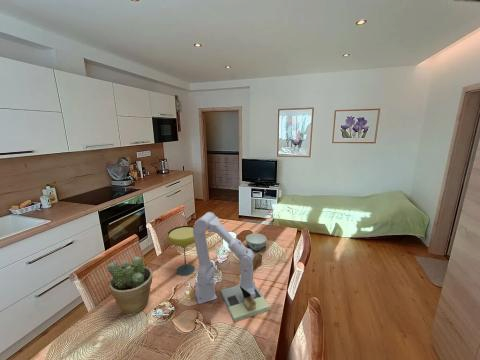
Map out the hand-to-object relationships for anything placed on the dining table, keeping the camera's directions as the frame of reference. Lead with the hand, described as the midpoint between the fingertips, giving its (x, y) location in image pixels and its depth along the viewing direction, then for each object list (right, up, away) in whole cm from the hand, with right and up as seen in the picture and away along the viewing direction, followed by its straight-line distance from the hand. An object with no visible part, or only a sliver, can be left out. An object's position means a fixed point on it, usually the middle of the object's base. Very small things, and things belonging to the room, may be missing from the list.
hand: (246, 300), depth 105 cm
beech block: (+1, -2, -3) cm, 4 cm away
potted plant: (-54, -3, +1) cm, 54 cm away
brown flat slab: (+5, +3, +30) cm, 30 cm away
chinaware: (+8, +8, +53) cm, 54 cm away
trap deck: (-1, -2, +3) cm, 4 cm away
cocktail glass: (-36, +3, +28) cm, 46 cm away
